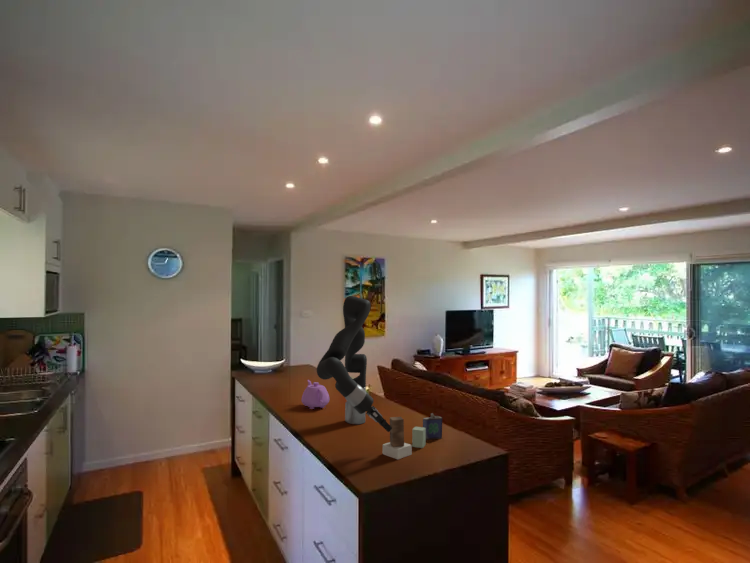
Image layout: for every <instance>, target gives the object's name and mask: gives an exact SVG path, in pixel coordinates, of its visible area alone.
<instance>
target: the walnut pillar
mask: <svg viewBox="0 0 750 563" xmlns="http://www.w3.org/2000/svg"><path fill="white" fill-rule="evenodd" d="M404 424H405V421H404V418H402V416H391V417H389V425H390V426H391V427H392V429H391V431H390V432H389V442H390V444H391V445H392V446H393V447H398V446H404V443H405V425H404Z"/></svg>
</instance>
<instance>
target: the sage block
mask: <svg viewBox="0 0 750 563" xmlns="http://www.w3.org/2000/svg"><path fill="white" fill-rule="evenodd" d="M411 431H412V433H411V435H412V438H411V439H412V443H411V445H412V448H418V449H419V448H420V449H423V448H424V447H425V446H426V441H427V440H426V428H424V427H423V426H414V427H413V428H412V430H411Z"/></svg>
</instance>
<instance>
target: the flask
mask: <svg viewBox="0 0 750 563" xmlns="http://www.w3.org/2000/svg"><path fill="white" fill-rule="evenodd" d="M422 427H424V428H426V441H429V440H431V441H432V440H437V439H438V440H439V439H442V438H443V417H442V416H439V415H435V414H434V413H433V412H432V413H430V417H423V419H422Z"/></svg>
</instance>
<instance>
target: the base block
mask: <svg viewBox="0 0 750 563" xmlns="http://www.w3.org/2000/svg"><path fill="white" fill-rule="evenodd" d="M412 450H413V447H412V444H410V443H407V442H404V446H398V447H393V446H392V445H391V444H390V441H389V442H386V443H383V444H382V455H384V456H387V457H390V458H393V459H395V460H398V461H399V460H400V459H402V458H403V459H404V458H406V457H409V456H411V455H412V454H413V453H412V452H413V451H412Z"/></svg>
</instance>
